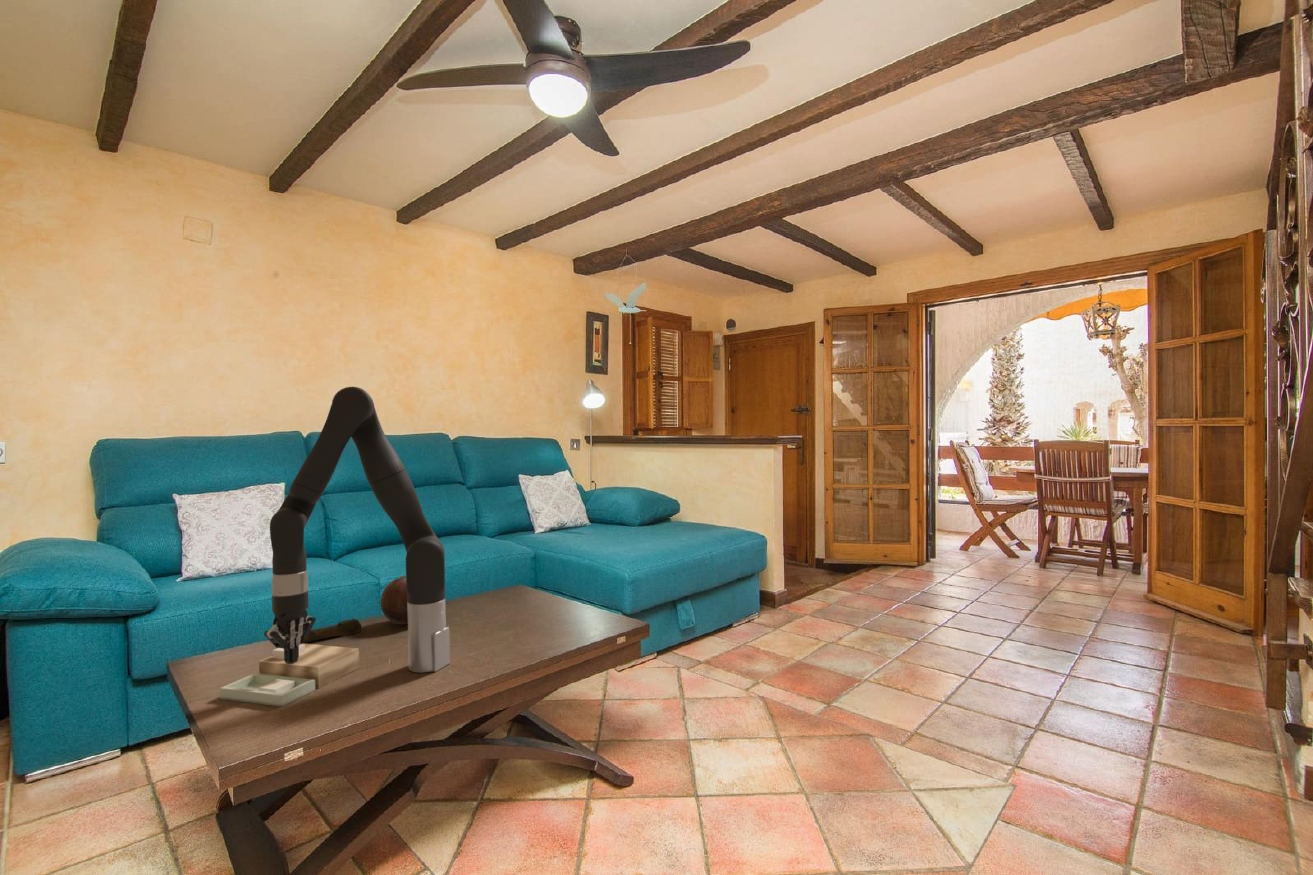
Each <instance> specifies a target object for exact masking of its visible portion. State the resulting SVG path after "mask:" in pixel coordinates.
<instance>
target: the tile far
mask: <svg viewBox="0 0 1313 875" xmlns="http://www.w3.org/2000/svg"><path fill="white" fill-rule="evenodd" d="M302 644H303V643H301V644H300V645H299V655H301V654H303V653H305V645H302ZM272 656H273V658H277V659H284V649H283V648H274V649H272Z"/></svg>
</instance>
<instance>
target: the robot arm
mask: <svg viewBox="0 0 1313 875" xmlns="http://www.w3.org/2000/svg"><path fill="white" fill-rule="evenodd" d="M380 422H381V421H380V420H379V417H378V414H377V410H376V408H375V404H374V400H373V397H371V396H370V393H368V392H367V391H366V390H365V389H363V388H360V387H358V386H347V387H343V388H341V389H339V391H337V392H336V393H335V394H334V396H333V398H332V401H331V405H330V408H329V411H328V415H327V417H326V420H325V422H324V425H323V427H322V429H321V432H320V434H319V435H318V438H317V439H316V441H315V443H314V445H313V447H312V449H311V450H310V452H309V454H308V455H307V456H306V458H305V460H304V462H303V463H302V465H301V466H300V469H299V471H298V472H297V474H296V475H295V478H294V480H293V481H292V483H291V485H290V487H289V490H288V494H287V495H286V497H285V499H284V501H283V502H282V504H281V506H280V508H278V510H277V512H275V513H274V515H272V517H271V519H270V522H269V534H270V535H269V537H270V543H271V544H270V546H271V550H272V558H271V559H272V560H271V561H272V565H271V566H272V577H271V578H272V579H271V612H272V613H273V615H274V618H273V621H272V627H271V628H270V629H269V630H265V631H264V633H263V635H264V637H265V638H266V639H267V640H268V641H269V642H270V643H271V644H272V645H273V646H274V647H275V649H277V648H283V649H284V661H285V662H286V663H287V664H293V663H295V662H297V661H298V658H299V645H300V643H301V642H302V641H305V640H306V639H307V637H308V635H309V633H310V631H311V630H313V626H314V624H315V623H316V621H317V618H316V617H315V616H310V615H309V612H308V608H309V577H308V572H307V571H308V570H307V567H308V566H307V564H308V563H307V551H306V549H305V527H306V526H307V523H308V522H309V520H310V517H312V513H313V511H314V509H315V507H316V504H317V503H318V502H319V500H320V498H321V497H322V495H323V494H324V492H325V490H326V488H327V487H328V485H329V483H330V481H331V479H332V478H333V475H334V473H335V471H336V469H337V467H338V464H339V462H340V459H341V456H342V454H343V452H344V450H345V449H346V445H347V444H348V442H349V441H350V440H351V438H352V440H353V442H354V445H355V447H356V448H357V452H358V455H359V459H360V462H361V465H362V468H363V472H364V475H365V478H366V479H367V482H368V484H369V486H370V488H371V491H372V493H373V495H374V496H375V498H376V499H377V501H378V503H379V506H381V508H382V509H383V511H384V513H386V515H387V516H388V517H389V519H390V520H391V521H392V522H393V524H394V526H395V527H396V528H397V531H398V533H399V535H400V538H401V540H402V542H403V546H404V549H405V552H406V555H405V576H406V590H407V607H408V624H407V640H408V641H407V643H408V644H407V645H408V646H407V648H408V649H407V650H408V651H407V652H408V670H409V671H410V672H413V673H429V672H430V673H431V672H439V671H440V670H441V669H443V668H444V667H446V666H447V665H449V664H450V663H451V653H450V652H451V648H450V646H451V645H450V642H451V640H450V639H451V637H450V627H449V626H447V620H446V618H447V617H446V571H445V570H446V562H445V560H446V559H445V548H444V546H443V544H442V542H441V541H440V539H439V537H438V536H437V534H436V533H435V532H434V530H433V529H432V527H431V525H430V523H429V522H428V520H427V518H426V516H425V513H424V511H423V510H422V506H421V503H420V502H421V501H420V499H419V497H418V494H417V492H416V489H415V487H414V484H413V482H412V480H411V478H410V476H409V473H408V471H407V469H406V467H405V465H404V463H403V462H402V459H401V458H400V457H399V455H398V454H397V452H396V450H395V448H394V446H392V444H391V443H390V441H389V439H388V438H387V436H386V434H385V432H384V430H383V427H382V425H381V423H380ZM303 632H304V633H303ZM302 633H303V635H302ZM301 644H302V643H301Z"/></svg>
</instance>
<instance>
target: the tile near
mask: <svg viewBox="0 0 1313 875" xmlns="http://www.w3.org/2000/svg"><path fill="white" fill-rule="evenodd" d="M293 688H295V685H294V681H290V680H281V679H277V680H274V681H272V682H270V683H268V684H266V685H263V686H261V687H259V691H267V692H275V693H284V692H286V691H288V690H290V689H293Z"/></svg>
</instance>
